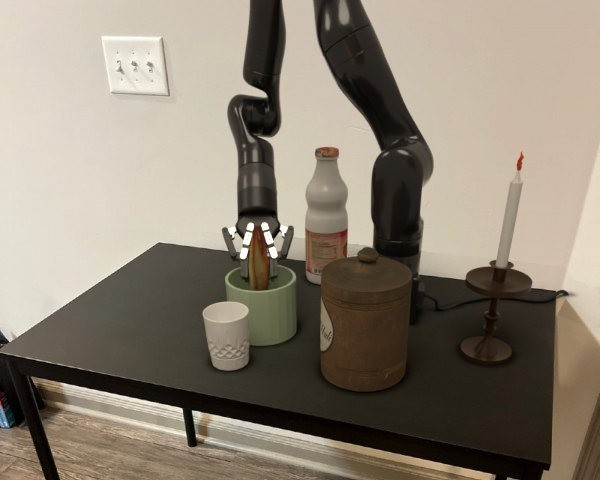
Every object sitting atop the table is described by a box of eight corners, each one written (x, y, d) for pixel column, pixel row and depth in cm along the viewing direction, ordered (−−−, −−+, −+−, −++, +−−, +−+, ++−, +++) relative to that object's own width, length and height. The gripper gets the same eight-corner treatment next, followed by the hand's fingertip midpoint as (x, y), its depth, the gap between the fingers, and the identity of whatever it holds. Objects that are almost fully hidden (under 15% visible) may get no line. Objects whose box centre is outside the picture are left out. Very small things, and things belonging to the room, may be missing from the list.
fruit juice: (298, 274, 141) (296, 147, 125) (334, 266, 144) (335, 142, 128) (317, 289, 134) (317, 156, 118) (354, 281, 138) (358, 151, 122)
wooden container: (336, 342, 114) (338, 228, 102) (413, 356, 110) (425, 238, 97) (308, 383, 103) (306, 260, 91) (393, 400, 99) (404, 273, 86)
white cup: (234, 377, 105) (229, 326, 99) (199, 365, 109) (193, 315, 103) (260, 357, 111) (257, 307, 105) (226, 346, 114) (221, 297, 108)
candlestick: (508, 374, 104) (553, 162, 84) (446, 359, 109) (476, 154, 89) (522, 346, 112) (566, 146, 92) (464, 333, 117) (495, 139, 97)
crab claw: (267, 334, 116) (251, 235, 103) (243, 331, 118) (225, 233, 105) (282, 316, 120) (269, 219, 108) (259, 313, 122) (243, 217, 110)
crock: (300, 315, 124) (300, 264, 118) (292, 347, 113) (290, 293, 107) (237, 312, 125) (233, 262, 119) (223, 344, 115) (217, 290, 108)
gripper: (217, 185, 111) (218, 274, 108) (294, 183, 111) (298, 271, 108) (221, 205, 118) (223, 289, 115) (294, 203, 118) (297, 286, 115)
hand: (259, 280), depth 111 cm, fingers closed on crab claw, 4 cm apart
